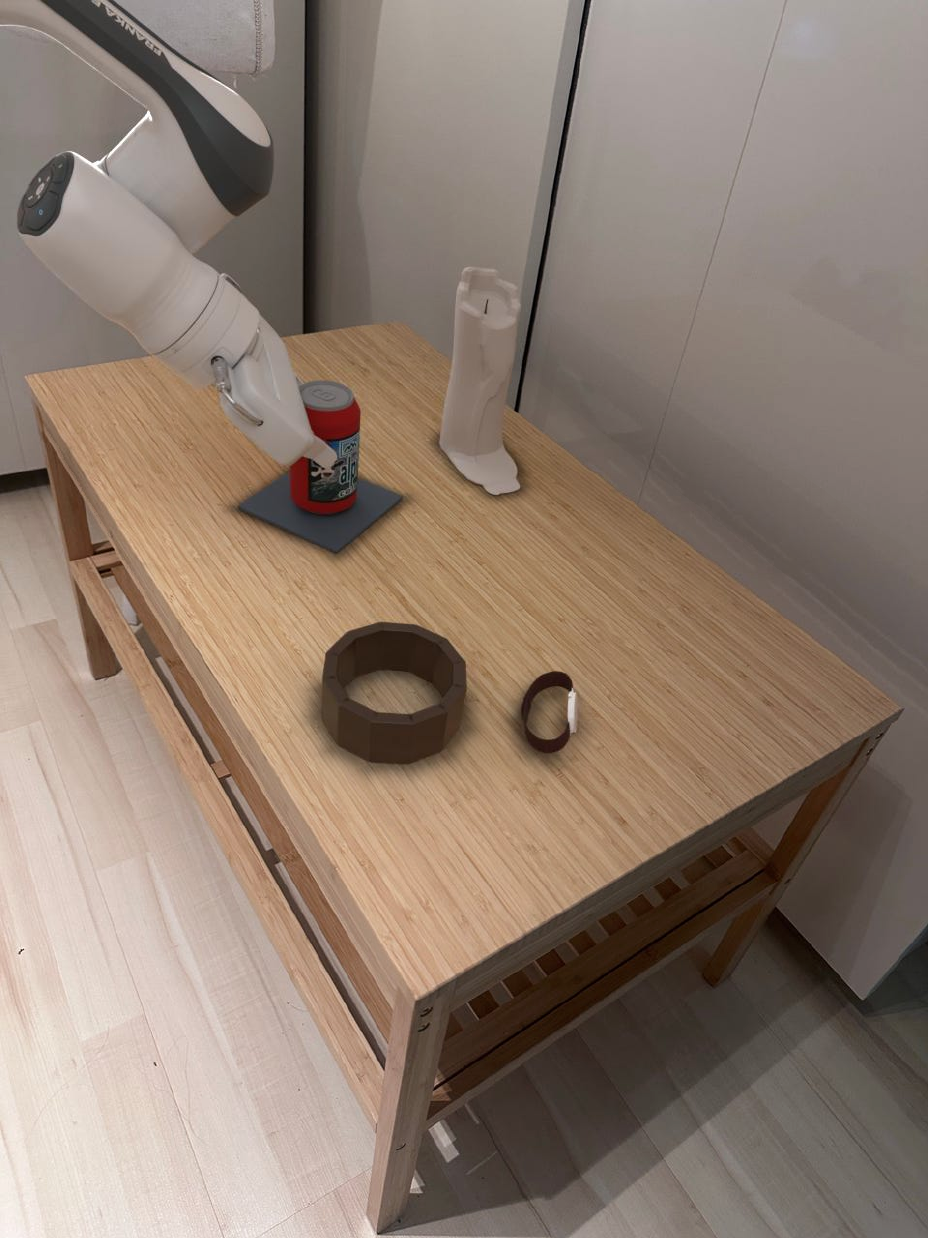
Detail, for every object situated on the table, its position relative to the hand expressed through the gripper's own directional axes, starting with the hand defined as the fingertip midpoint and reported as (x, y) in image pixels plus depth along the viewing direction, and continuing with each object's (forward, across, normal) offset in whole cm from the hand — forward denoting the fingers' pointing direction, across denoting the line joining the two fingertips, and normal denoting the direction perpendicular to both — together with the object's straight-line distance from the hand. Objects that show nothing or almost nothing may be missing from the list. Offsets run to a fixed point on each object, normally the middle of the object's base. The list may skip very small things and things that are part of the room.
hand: (323, 433), depth 83 cm
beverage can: (+6, 0, +6) cm, 8 cm away
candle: (+20, +7, -8) cm, 22 cm away
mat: (+6, 0, +6) cm, 8 cm away
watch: (+15, -32, -3) cm, 36 cm away
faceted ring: (+7, -28, +5) cm, 30 cm away
